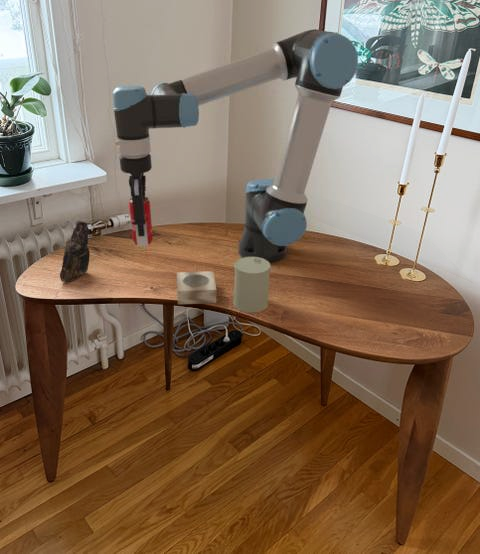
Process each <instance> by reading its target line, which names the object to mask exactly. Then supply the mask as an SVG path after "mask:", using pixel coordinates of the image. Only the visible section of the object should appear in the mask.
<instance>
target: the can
mask: <svg viewBox="0 0 480 554" xmlns="http://www.w3.org/2000/svg"><path fill="white" fill-rule="evenodd" d="M270 274H271V262H268V261H267V260H265V259H263V258H259V257H241V258H238V259H237V260H236V261H235V262H234V290H233V291H234V293H233V306H234V308H235V309H237V311H240V312H244V313H247V314H248V313H249V314H256V313H260V312H264V311H265V310H266V309H267V308H268V307H269V293H270V292H269V288H270V276H271V275H270Z"/></svg>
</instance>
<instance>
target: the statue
mask: <svg viewBox="0 0 480 554" xmlns="http://www.w3.org/2000/svg"><path fill="white" fill-rule="evenodd" d="M75 224H76V225H75V227H74V228H73V231H72V234H71V237H70V242H71V244H70V245H67V246H66V247H65V250H64V254H63V257H62V264H61V270H60V273H59V279H60V280H61V282H62V283H68V282H72V281H74V280H76V279H78V278H80V277H82V276H83V275H85V274H86V273H87V272H88V268H89V264H90V263H89V262H90V257H91V256H90V255H91V254H90V253H91V252H90V248H89V247H88V243H89V231H88V225H87V224H88V223H87V221H83V220H82V221H81V220H77V221H76V223H75Z"/></svg>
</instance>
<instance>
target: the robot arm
mask: <svg viewBox="0 0 480 554" xmlns="http://www.w3.org/2000/svg"><path fill="white" fill-rule="evenodd" d="M358 57H359V56H358V51H357V49H356V47H355V44H354V43H353V42H352V41H351V40H350V39H349V38H348V37H346V36H344V35H343V34H340V33H338V32H334V31H333V32H332V31H326V30H323V29H308V30H305V31H303V32H300V33H297V34H295V35H292V36H290V37H287V38H285V39H282V40H279V41H276V42H274V43H272V47H271V48H270V49H269V48H268V49H266V50H263V51H260V52H257V53H254V54H252V55H249V56H246V57H243V58H240V59H237V60H233V61H231V62H228V63H226V64H225V63H224V64H222V65H220V66H216V67H214V68H209V69H208V70H205V71H202V72H199V73H196V74H193V75H190V76H187V77H185V78H182V79H179V80H175V81H173V82H170V83H169V82H161V83H158V84H157V85H156V86H154V88H153V89H152V90H151V94H148V93H147V91H146V89H145V87H144V86H142V85H141V86H140V85H122V86H121V85H120V86H117V87H115V89H113V91H112V97H113V98H112V99H113V112H114V113H113V114H114V120H115V121H114V123H115V128H116V129H115V130H116V136H117V137H116V138H117V140H115V142H114V143H115V145H116V146H118V153H119V154H120V155H119V159H118V160H119V165H120V166H119V167H120V170H121V172H122V173H125V174H130V175H129V178H128V185H129V188H130V197H131V198H132V202H133V212H134V222H132V225H134V224H135V228H136V238H137V245H136V246H137V248H140V247H141V248H143V247H144V248H145V247H149V245H148V238H147V227H146V221H145V212H144V198H143V197H144V196H145V197H146V188H147V187H146V182H147V181H146V180H147V178H146V175H144V174H145V173H148V172H150V171H151V170H152V167H153V166H152V155H151V154H150V153H151V151H152V150H151V140H150V139H151V138H150V130H151V129H166V128H167V129H169V128H170V129H173V128H184V129H185V128H187V127H188V128H189V127H195V126H196V125H198V123H199V119H200V118H199V117H200V109H199V107H200V106H202V105H206V104H209V103H211V102H215V101H217V100H220V99H223V98H225V97H229V96H231V95H235V94H237V93H240V92H243V91H247V90H248V89H249V90H250V89H251V88H255V87H258V86H261V85H263V84H266V83H269V82H272V81H275V80H278V79H279V80H282V81H285V82H286V81H288V80H290V79H295V82H294V87H295V88H296V91H297V93H298V94H297V98H296V102H295V105H294V110H293V113H292V116H291V119H290V123H289V128H288V131H287V133H286V138H285V142H284V145H283V149H282V153H281V156H280V159H279V164H278V166H277V167H278V168H277V171H276V173H275V178H273V179H272V178H260V179H259V178H258V179H254V180H253V179H252V180H251V181H249V182H247V184H246V188H245V189H246V191H245V193H244V194H245V208H244V209H245V211H244V212H245V213H244V214H245V216H244V230H243V232H242V234H241V236H240V240H239V242H238V254H239V255H240V256H241V258H244V257H259V258H263V259H265V260H267V261H268V262H269V263H273V262H278V261H280V260H283V259H284V258H285V257H286V256H287V253H288V252H287V251H288V246H290V245H292V244H294V243H295V242H298V241H299V240H300V239H301V238H302V237H303V236H304V234H305V232H306V230H307V226H308V225H307V224H308V223H307V218H306V215H305V214H304V213H305V210H306V207H307V203H308V197H307V195H306V193H305V191H306V188H307V184H308V181H309V178H310V175H311V171H312V168H313V165H314V161H315V158H316V154H317V152H318V148H319V145H320V142H321V139H322V135H323V132H324V128H325V126H326V123H327V119H328V116H329V113H330V109H331V105H332V103H333V102H335V101H336V100H338V99H339V98H340V97H341V94H342V92H343V89H344V87H345V86H346V85H347V84H349V83H350V82H351V81H352V80H353V78H354V76H355V75H356V72H357V70H358V65H359V58H358Z"/></svg>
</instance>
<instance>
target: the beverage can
mask: <svg viewBox="0 0 480 554" xmlns="http://www.w3.org/2000/svg"><path fill="white" fill-rule="evenodd" d="M143 198H144V212H145V221H146V227H147V238H148V246H149V245H150V244H152V241H153V239H154V237H153V225H152V214H151V201H150V200H149V197H147V196H146V195H145V196H144V197H143ZM128 207H129V216H130V225H131V234H132V240H133V242H134V244H135V246H137V238H136V228H135V224H134V225H132V222H134V212H133V202H132V197H131V198H129V203H128Z"/></svg>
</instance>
